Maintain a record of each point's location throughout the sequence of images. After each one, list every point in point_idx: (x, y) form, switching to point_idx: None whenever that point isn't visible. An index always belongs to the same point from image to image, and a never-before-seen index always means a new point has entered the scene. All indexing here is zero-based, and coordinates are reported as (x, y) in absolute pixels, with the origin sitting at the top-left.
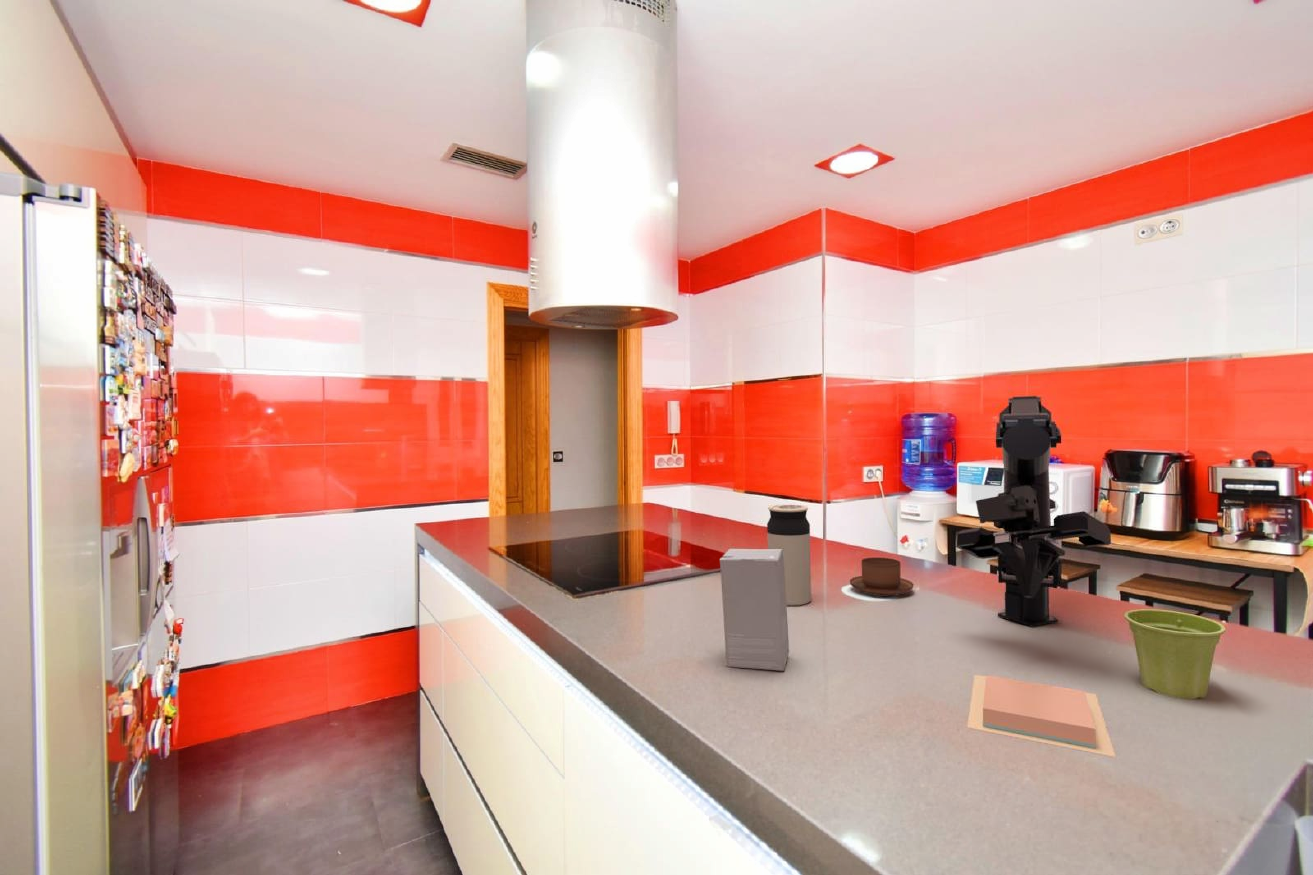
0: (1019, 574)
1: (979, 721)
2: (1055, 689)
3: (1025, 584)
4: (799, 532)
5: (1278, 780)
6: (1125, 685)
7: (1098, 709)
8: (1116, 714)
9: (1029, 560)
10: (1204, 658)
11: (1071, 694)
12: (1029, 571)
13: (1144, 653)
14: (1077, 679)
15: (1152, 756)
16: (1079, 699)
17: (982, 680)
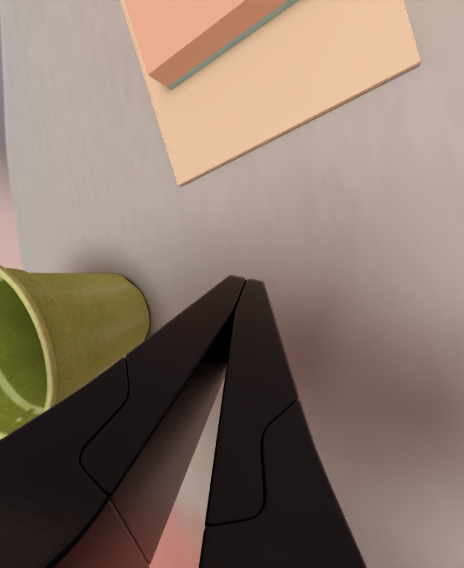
0: (250, 366)
1: None
2: (184, 19)
3: (227, 305)
4: None
5: (7, 85)
6: (164, 288)
7: (157, 110)
8: (142, 130)
9: (84, 433)
10: (15, 298)
11: (157, 26)
12: (156, 356)
13: (81, 287)
14: (225, 259)
15: (80, 6)
16: (141, 12)
17: (384, 38)
